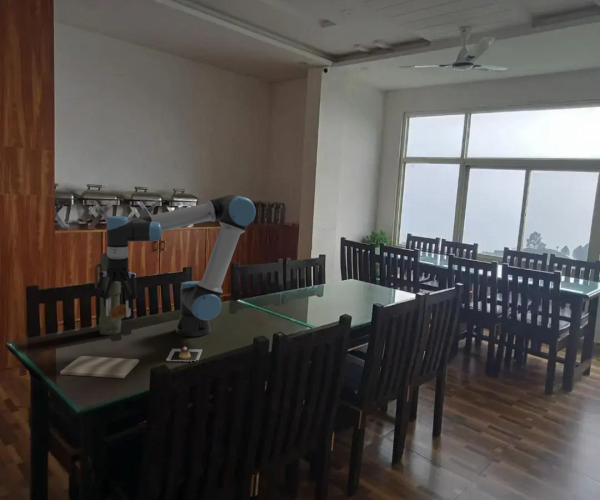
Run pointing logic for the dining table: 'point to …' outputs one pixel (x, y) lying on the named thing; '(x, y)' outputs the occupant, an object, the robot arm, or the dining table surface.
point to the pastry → (118, 312)
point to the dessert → (184, 354)
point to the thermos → (106, 322)
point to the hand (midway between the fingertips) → (118, 315)
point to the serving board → (100, 367)
